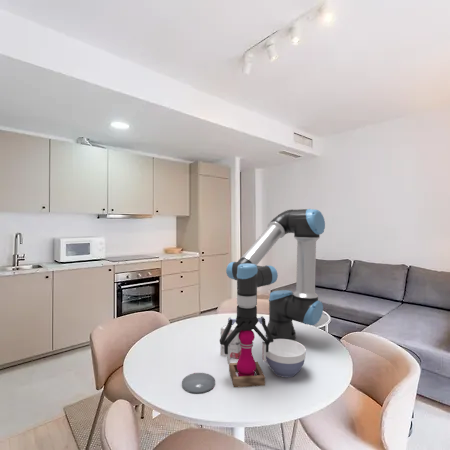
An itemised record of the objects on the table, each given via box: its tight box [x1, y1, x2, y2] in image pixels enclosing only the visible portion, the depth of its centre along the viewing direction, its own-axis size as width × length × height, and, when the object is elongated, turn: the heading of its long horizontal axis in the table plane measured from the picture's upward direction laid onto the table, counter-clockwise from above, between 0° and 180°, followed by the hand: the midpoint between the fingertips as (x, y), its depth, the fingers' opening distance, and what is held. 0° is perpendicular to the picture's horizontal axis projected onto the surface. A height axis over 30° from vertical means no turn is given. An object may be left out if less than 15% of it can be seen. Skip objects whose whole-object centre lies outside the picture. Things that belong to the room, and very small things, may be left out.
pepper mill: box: [236, 329, 256, 377], centre depth 109 cm, size 7×7×20 cm
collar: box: [228, 361, 266, 388], centre depth 109 cm, size 12×12×3 cm
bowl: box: [266, 339, 307, 378], centre depth 114 cm, size 16×16×10 cm
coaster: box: [181, 372, 216, 395], centre depth 105 cm, size 12×12×1 cm
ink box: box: [220, 324, 241, 360], centre depth 127 cm, size 9×5×12 cm, turn 65°
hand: (246, 361), depth 109 cm, fingers open, 13 cm apart
